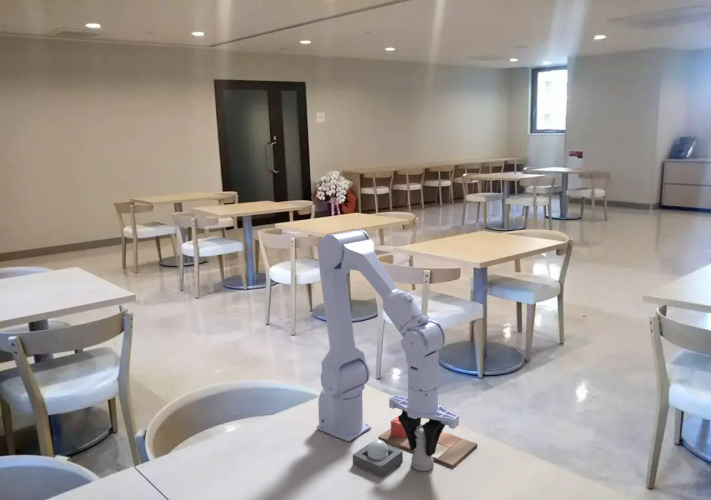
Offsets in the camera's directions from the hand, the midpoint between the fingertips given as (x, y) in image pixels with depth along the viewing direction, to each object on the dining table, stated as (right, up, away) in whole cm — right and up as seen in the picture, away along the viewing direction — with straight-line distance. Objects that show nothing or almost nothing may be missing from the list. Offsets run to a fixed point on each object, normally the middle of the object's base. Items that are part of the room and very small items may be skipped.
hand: (422, 450), depth 114 cm
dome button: (-9, -4, +2) cm, 10 cm away
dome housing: (-9, -3, +2) cm, 9 cm away
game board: (+2, -1, +9) cm, 9 cm away
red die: (-3, -1, +12) cm, 13 cm away
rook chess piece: (0, -3, +1) cm, 3 cm away
